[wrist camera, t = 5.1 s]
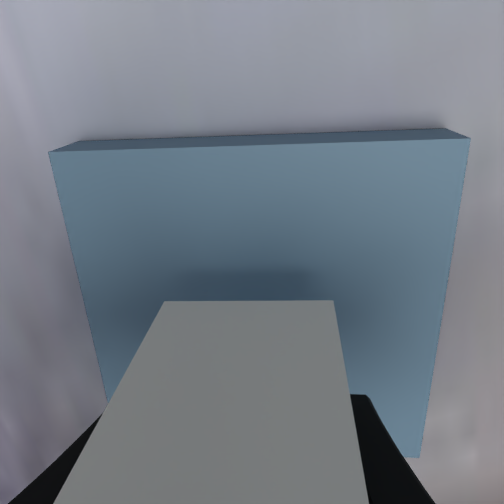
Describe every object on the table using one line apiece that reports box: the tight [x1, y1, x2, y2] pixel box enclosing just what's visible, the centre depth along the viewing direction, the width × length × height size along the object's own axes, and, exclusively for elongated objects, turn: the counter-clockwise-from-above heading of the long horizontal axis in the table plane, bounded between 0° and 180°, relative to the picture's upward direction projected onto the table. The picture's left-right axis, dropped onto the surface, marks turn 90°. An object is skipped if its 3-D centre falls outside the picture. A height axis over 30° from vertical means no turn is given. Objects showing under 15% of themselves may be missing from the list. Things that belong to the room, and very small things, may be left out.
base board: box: [48, 128, 471, 458], centre depth 15 cm, size 12×12×2 cm
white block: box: [53, 300, 369, 504], centre depth 9 cm, size 4×4×6 cm
